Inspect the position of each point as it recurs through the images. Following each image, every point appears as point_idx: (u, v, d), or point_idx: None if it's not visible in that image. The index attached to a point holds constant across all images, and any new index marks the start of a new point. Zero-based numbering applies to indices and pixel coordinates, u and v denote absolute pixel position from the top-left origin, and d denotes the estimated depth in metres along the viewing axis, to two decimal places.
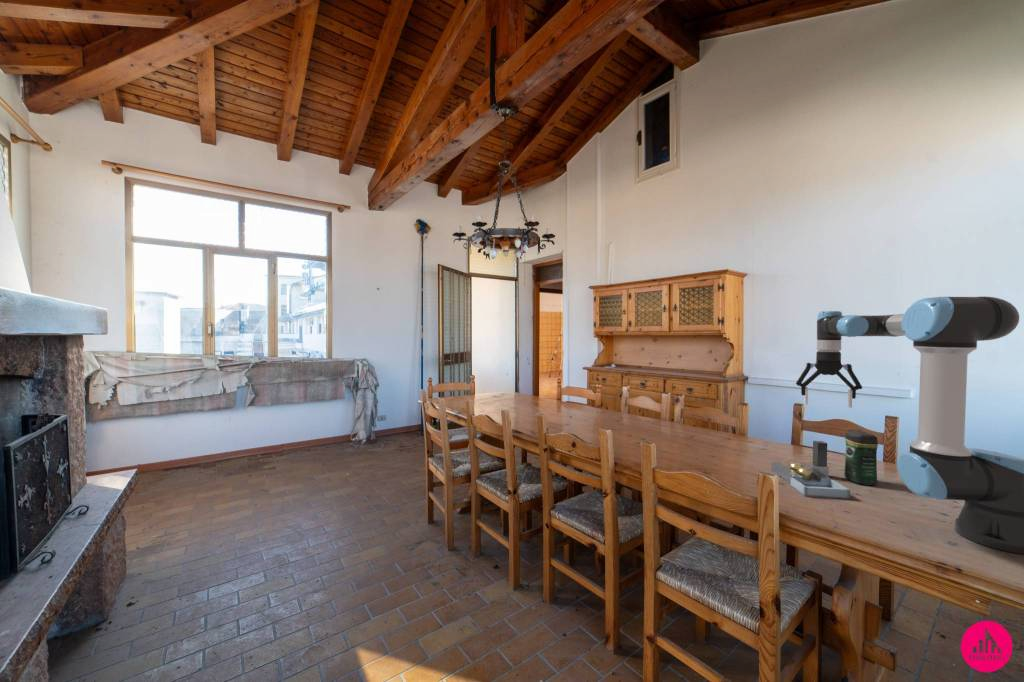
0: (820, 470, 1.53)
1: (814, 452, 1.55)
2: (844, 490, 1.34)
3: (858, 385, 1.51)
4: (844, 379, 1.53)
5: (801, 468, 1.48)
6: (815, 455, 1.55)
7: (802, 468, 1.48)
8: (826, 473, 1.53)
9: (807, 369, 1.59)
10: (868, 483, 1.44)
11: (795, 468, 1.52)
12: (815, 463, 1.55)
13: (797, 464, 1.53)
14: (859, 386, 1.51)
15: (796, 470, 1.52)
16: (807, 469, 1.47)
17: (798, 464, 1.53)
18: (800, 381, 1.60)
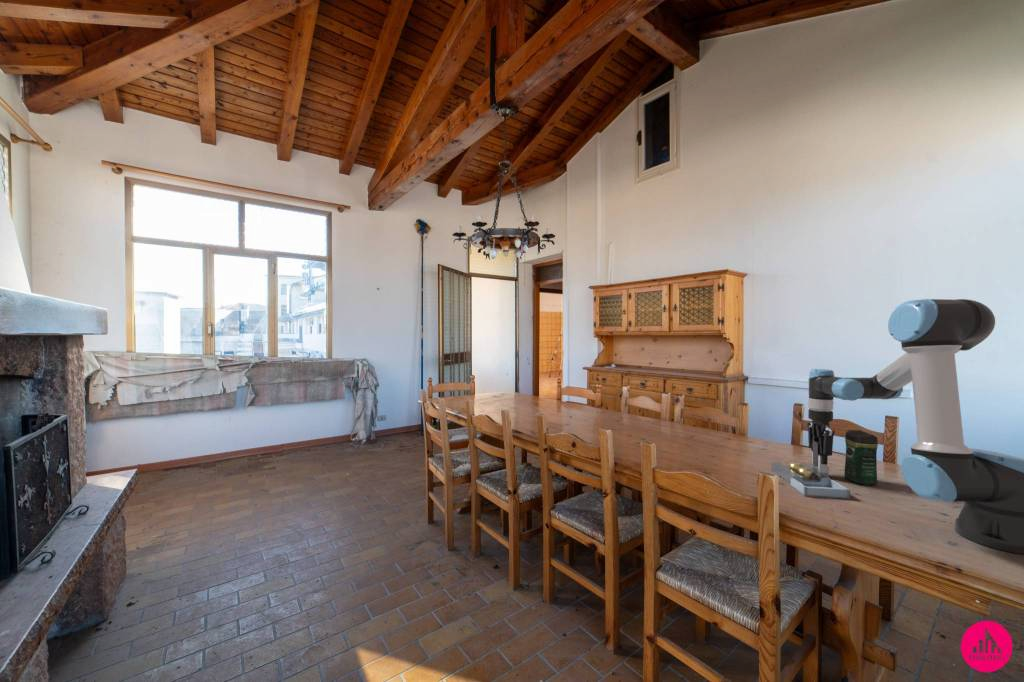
0: None
1: (814, 452, 1.55)
2: (844, 490, 1.34)
3: (823, 451, 1.50)
4: (819, 441, 1.53)
5: (801, 468, 1.48)
6: (815, 455, 1.55)
7: (802, 468, 1.48)
8: (826, 473, 1.53)
9: (808, 429, 1.60)
10: (868, 483, 1.44)
11: (794, 468, 1.52)
12: (815, 463, 1.55)
13: (797, 463, 1.54)
14: (823, 452, 1.50)
15: (795, 470, 1.52)
16: (807, 469, 1.47)
17: (797, 464, 1.53)
18: (809, 443, 1.59)
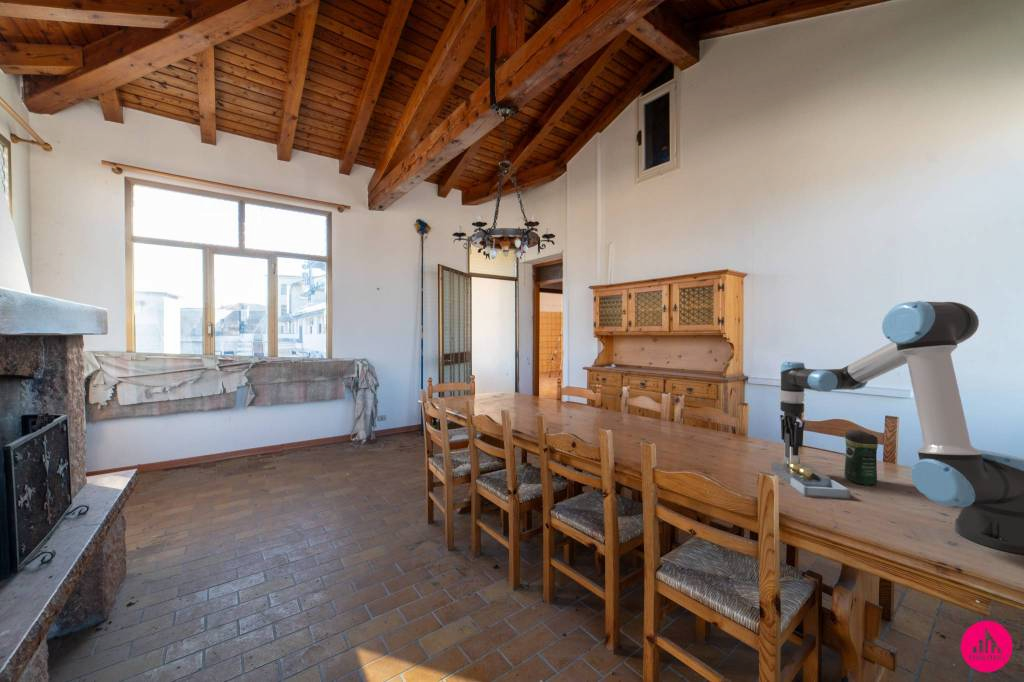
0: None
1: (786, 443, 1.58)
2: (844, 490, 1.34)
3: (794, 442, 1.53)
4: (791, 433, 1.55)
5: (802, 468, 1.48)
6: (787, 446, 1.57)
7: (803, 468, 1.48)
8: None
9: (781, 421, 1.62)
10: (868, 483, 1.44)
11: (794, 468, 1.52)
12: (787, 454, 1.57)
13: (796, 464, 1.53)
14: (794, 443, 1.53)
15: (795, 470, 1.51)
16: (808, 469, 1.47)
17: (797, 464, 1.53)
18: (782, 435, 1.62)
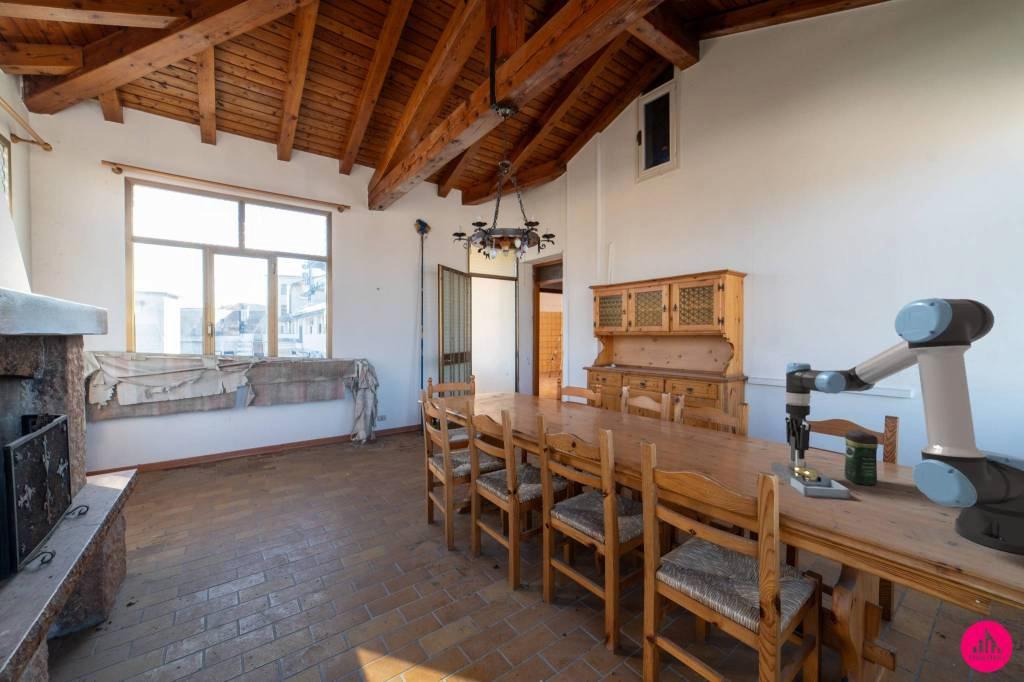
0: None
1: (791, 447, 1.54)
2: (844, 490, 1.34)
3: (800, 445, 1.49)
4: (796, 436, 1.51)
5: (807, 471, 1.46)
6: (792, 450, 1.53)
7: (808, 471, 1.46)
8: None
9: (786, 424, 1.58)
10: (868, 483, 1.44)
11: (799, 472, 1.48)
12: (792, 458, 1.53)
13: (802, 467, 1.49)
14: (800, 446, 1.49)
15: (800, 474, 1.47)
16: (813, 472, 1.45)
17: (802, 468, 1.49)
18: (787, 438, 1.58)
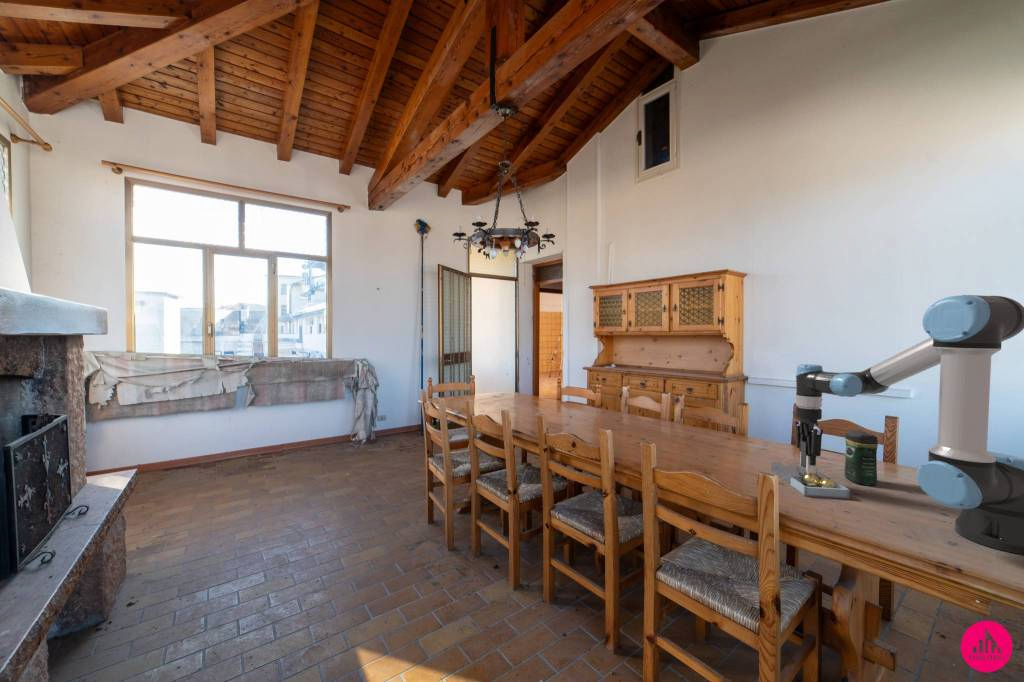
0: None
1: (802, 452, 1.47)
2: (844, 490, 1.34)
3: (811, 451, 1.41)
4: (807, 441, 1.44)
5: (829, 485, 1.37)
6: (803, 455, 1.46)
7: (830, 485, 1.37)
8: (815, 474, 1.44)
9: (796, 428, 1.51)
10: (868, 483, 1.44)
11: (808, 484, 1.41)
12: (803, 464, 1.46)
13: (814, 478, 1.41)
14: (811, 452, 1.41)
15: (808, 485, 1.42)
16: None
17: (814, 480, 1.41)
18: (797, 443, 1.51)
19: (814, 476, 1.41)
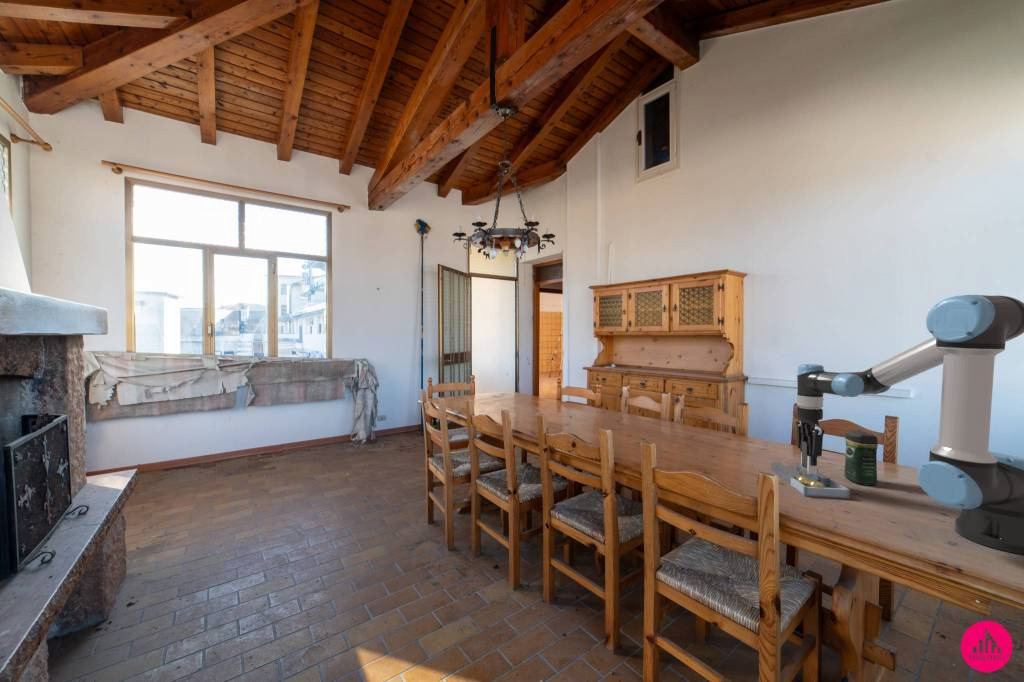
0: None
1: (803, 452, 1.46)
2: (844, 490, 1.34)
3: (812, 451, 1.41)
4: (808, 441, 1.43)
5: None
6: (804, 456, 1.45)
7: None
8: (816, 475, 1.44)
9: (797, 428, 1.50)
10: (868, 483, 1.44)
11: None
12: (804, 464, 1.45)
13: (805, 482, 1.40)
14: (812, 453, 1.41)
15: None
16: (819, 486, 1.36)
17: None
18: (798, 443, 1.50)
19: (803, 480, 1.40)
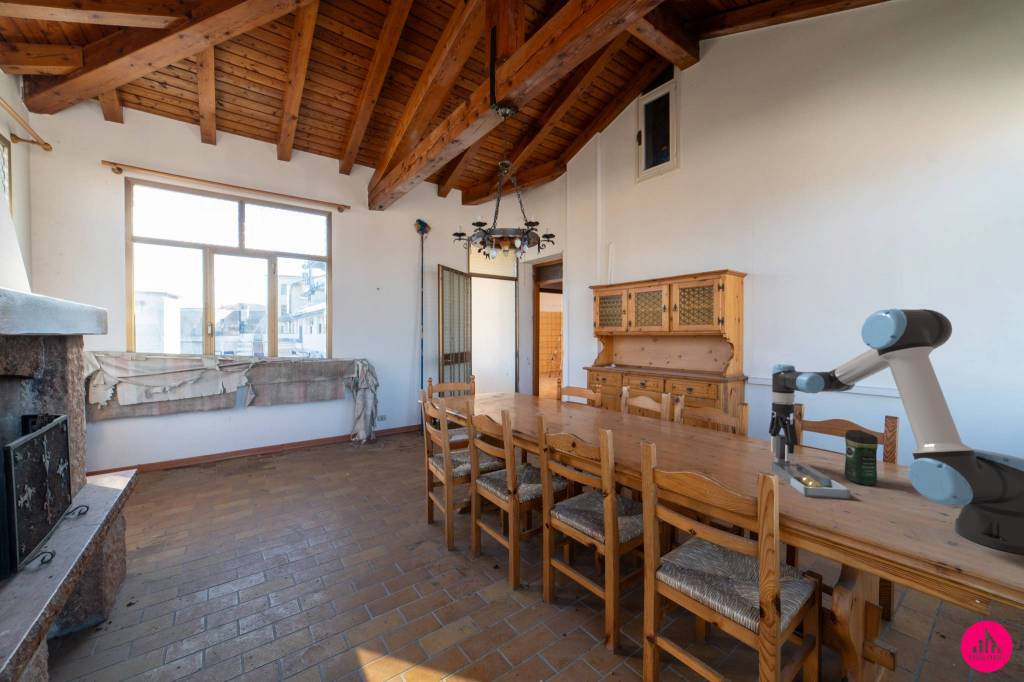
0: (782, 462, 1.63)
1: (777, 445, 1.65)
2: (844, 490, 1.34)
3: (789, 440, 1.56)
4: (784, 432, 1.60)
5: None
6: (778, 448, 1.64)
7: None
8: (788, 465, 1.62)
9: (771, 418, 1.70)
10: (868, 483, 1.44)
11: None
12: (778, 455, 1.64)
13: None
14: (789, 441, 1.56)
15: None
16: (816, 486, 1.36)
17: None
18: (769, 429, 1.72)
19: None
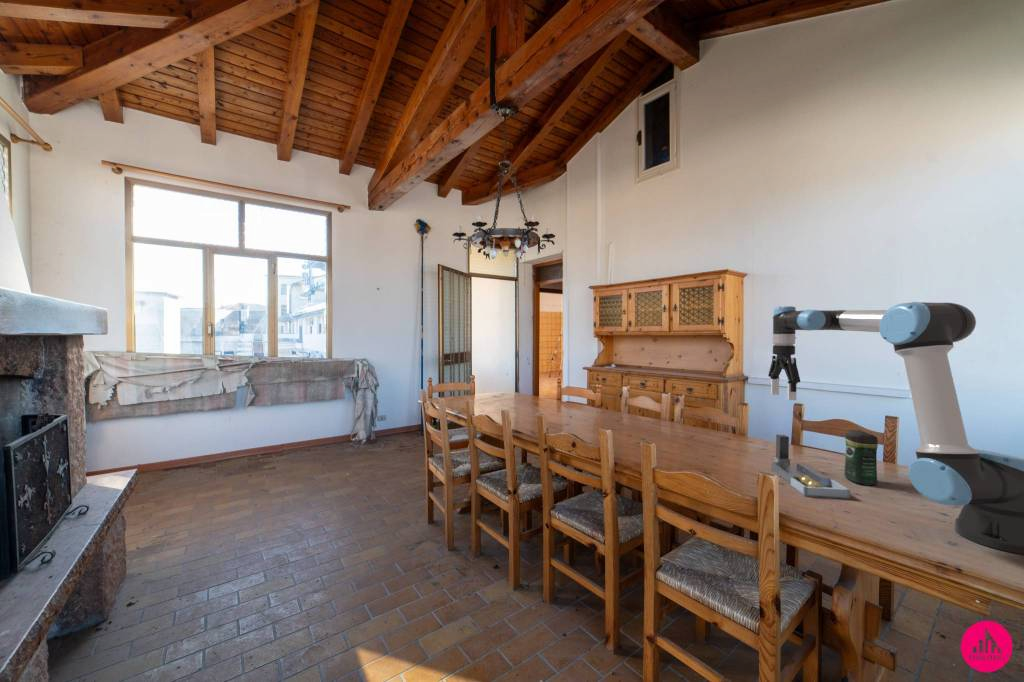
0: (782, 462, 1.63)
1: (777, 445, 1.65)
2: (844, 490, 1.34)
3: (791, 378, 1.55)
4: (786, 372, 1.59)
5: None
6: (778, 448, 1.64)
7: None
8: (788, 465, 1.62)
9: (772, 361, 1.70)
10: (868, 483, 1.44)
11: None
12: (778, 455, 1.64)
13: None
14: (792, 379, 1.54)
15: None
16: (816, 486, 1.36)
17: None
18: (769, 372, 1.72)
19: None
